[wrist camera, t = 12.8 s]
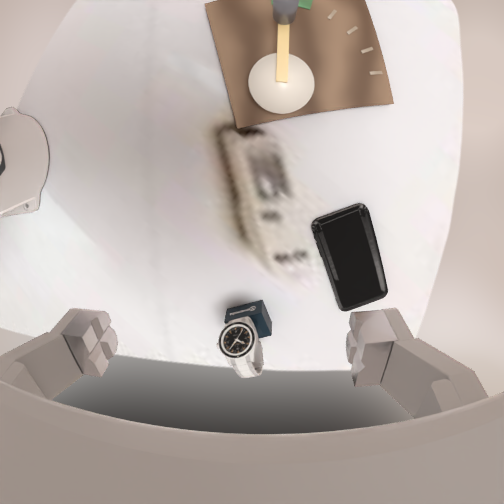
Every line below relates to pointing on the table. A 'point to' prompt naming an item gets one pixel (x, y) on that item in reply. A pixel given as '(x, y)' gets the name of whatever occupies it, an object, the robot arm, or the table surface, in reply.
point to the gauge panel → (302, 54)
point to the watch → (245, 337)
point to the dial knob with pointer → (282, 69)
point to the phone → (351, 256)
